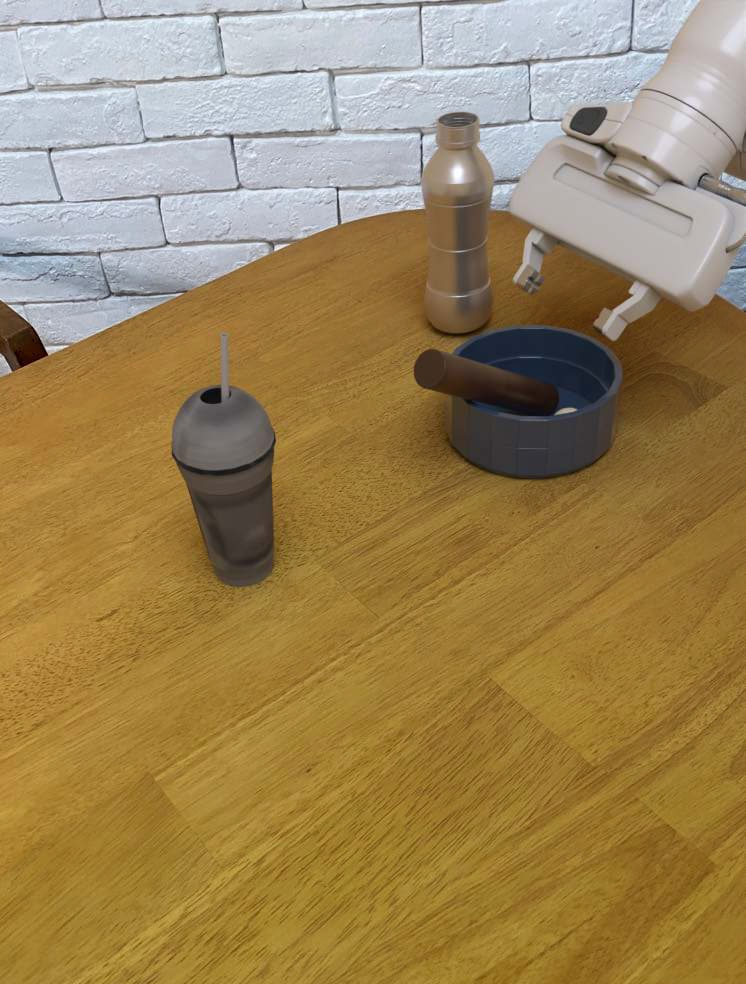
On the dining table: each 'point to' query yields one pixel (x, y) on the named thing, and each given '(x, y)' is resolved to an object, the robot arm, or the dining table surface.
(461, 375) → the stick
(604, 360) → the bowl
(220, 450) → the beverage cup
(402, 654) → the dining table surface
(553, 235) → the robot arm
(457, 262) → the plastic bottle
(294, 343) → the dining table surface
